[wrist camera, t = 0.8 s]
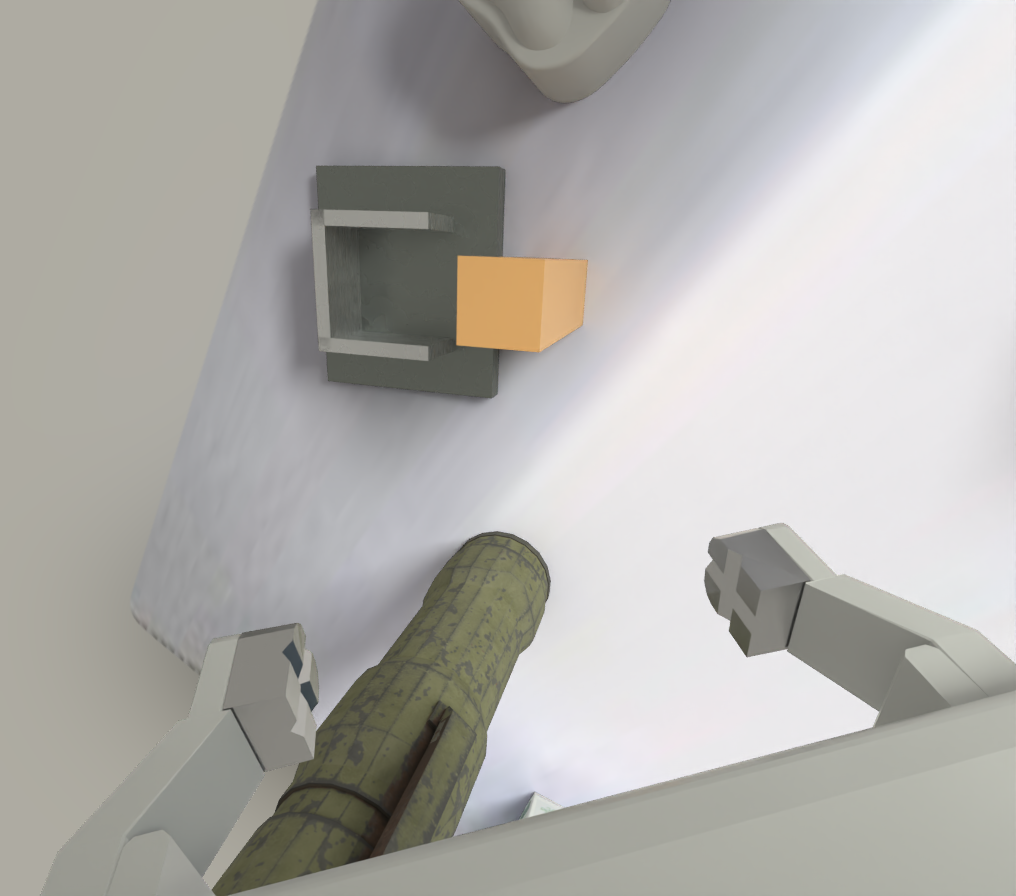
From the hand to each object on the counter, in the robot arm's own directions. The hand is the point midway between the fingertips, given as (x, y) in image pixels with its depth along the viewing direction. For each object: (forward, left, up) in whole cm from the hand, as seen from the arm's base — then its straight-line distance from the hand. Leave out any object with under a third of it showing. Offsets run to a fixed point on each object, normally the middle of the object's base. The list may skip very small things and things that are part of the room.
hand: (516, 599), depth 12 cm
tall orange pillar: (-4, -6, -34) cm, 34 cm away
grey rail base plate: (-4, -17, -34) cm, 38 cm away
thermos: (+20, -9, -34) cm, 40 cm away
